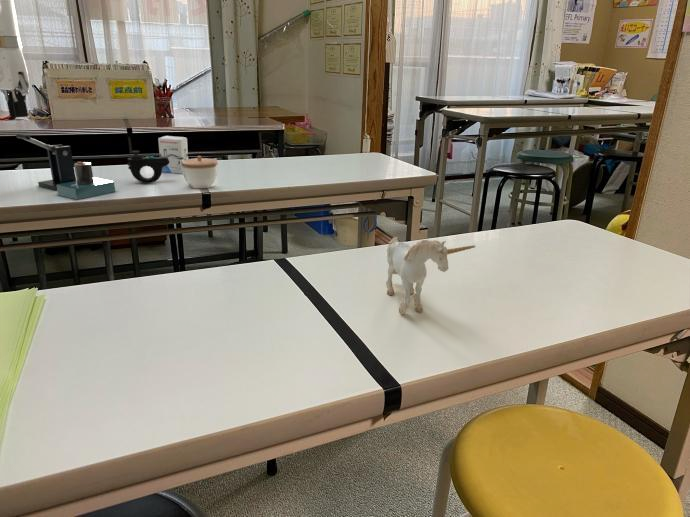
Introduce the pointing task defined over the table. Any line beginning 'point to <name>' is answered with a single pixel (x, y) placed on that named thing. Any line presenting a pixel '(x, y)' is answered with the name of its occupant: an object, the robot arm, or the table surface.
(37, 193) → the table surface
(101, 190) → the dial panel
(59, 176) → the toaster bracket
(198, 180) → the trinket box
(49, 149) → the lever
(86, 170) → the dial
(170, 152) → the ink box
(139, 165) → the black holed piece
